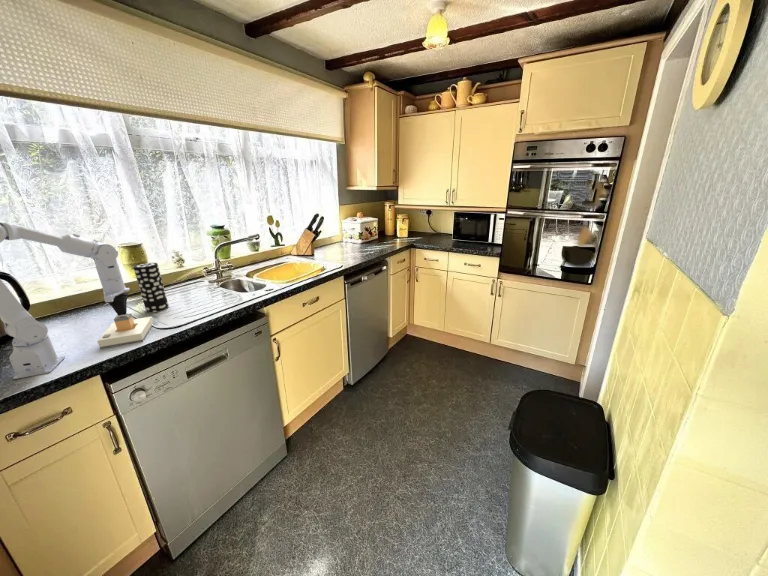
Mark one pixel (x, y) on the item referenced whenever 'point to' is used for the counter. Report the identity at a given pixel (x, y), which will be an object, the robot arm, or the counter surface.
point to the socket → (126, 333)
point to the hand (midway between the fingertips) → (122, 314)
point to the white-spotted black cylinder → (151, 287)
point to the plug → (124, 322)
